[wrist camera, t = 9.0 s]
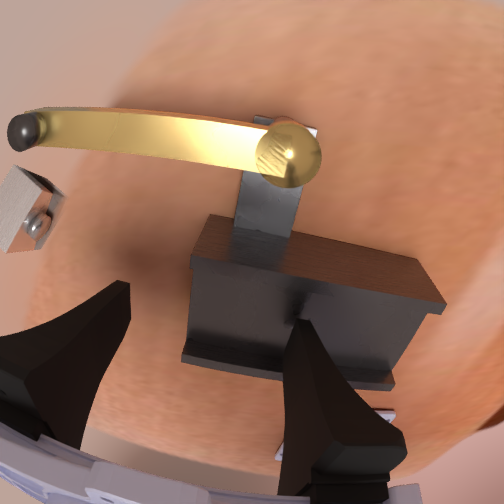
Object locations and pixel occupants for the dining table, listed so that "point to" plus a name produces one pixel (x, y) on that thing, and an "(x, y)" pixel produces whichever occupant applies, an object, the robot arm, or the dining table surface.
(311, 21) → the dining table surface
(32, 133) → the lever
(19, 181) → the knobbed drawer block
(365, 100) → the dining table surface
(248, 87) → the dining table surface
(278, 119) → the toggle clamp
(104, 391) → the dining table surface
